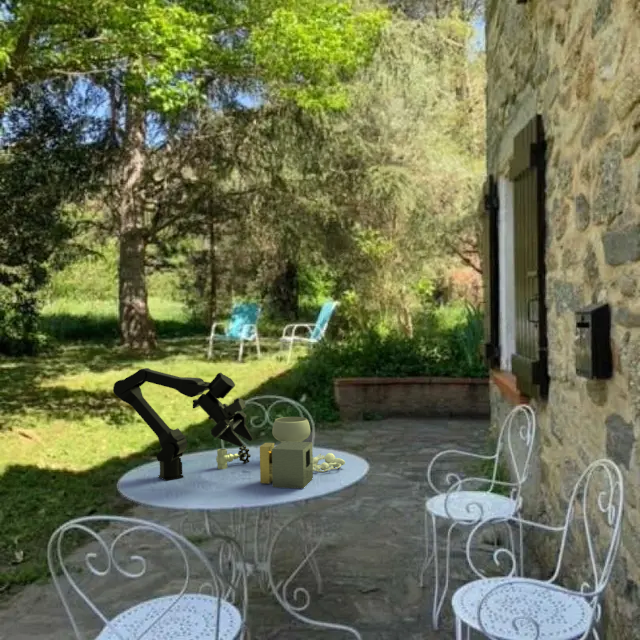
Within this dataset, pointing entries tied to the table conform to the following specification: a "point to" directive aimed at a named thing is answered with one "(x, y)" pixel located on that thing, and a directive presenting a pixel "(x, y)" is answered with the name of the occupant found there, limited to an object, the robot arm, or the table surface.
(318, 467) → the tangled rod sculpture
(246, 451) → the valve
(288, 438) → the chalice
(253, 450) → the table surface
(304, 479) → the housing
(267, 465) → the end cover
